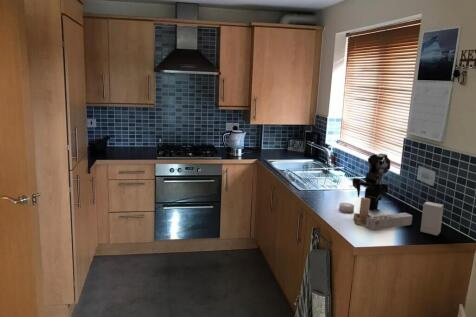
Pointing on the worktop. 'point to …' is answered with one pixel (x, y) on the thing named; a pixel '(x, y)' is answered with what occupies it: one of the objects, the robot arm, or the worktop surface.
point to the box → (388, 221)
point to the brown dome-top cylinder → (364, 208)
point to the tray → (358, 220)
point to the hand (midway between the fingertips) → (367, 198)
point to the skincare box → (431, 218)
